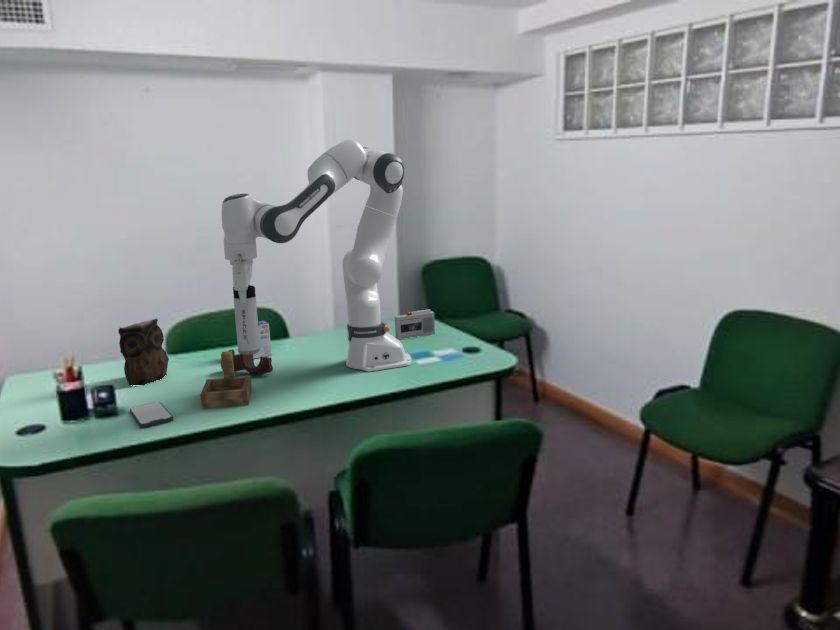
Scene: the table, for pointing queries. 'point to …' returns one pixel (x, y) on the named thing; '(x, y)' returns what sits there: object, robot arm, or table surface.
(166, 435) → the table surface
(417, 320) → the cassette player
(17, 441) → the table surface
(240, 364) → the bracket
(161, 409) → the phone case
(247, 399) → the wooden caddy
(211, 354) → the table surface
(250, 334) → the travel mug
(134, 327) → the owl
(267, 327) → the ink cartridge box
